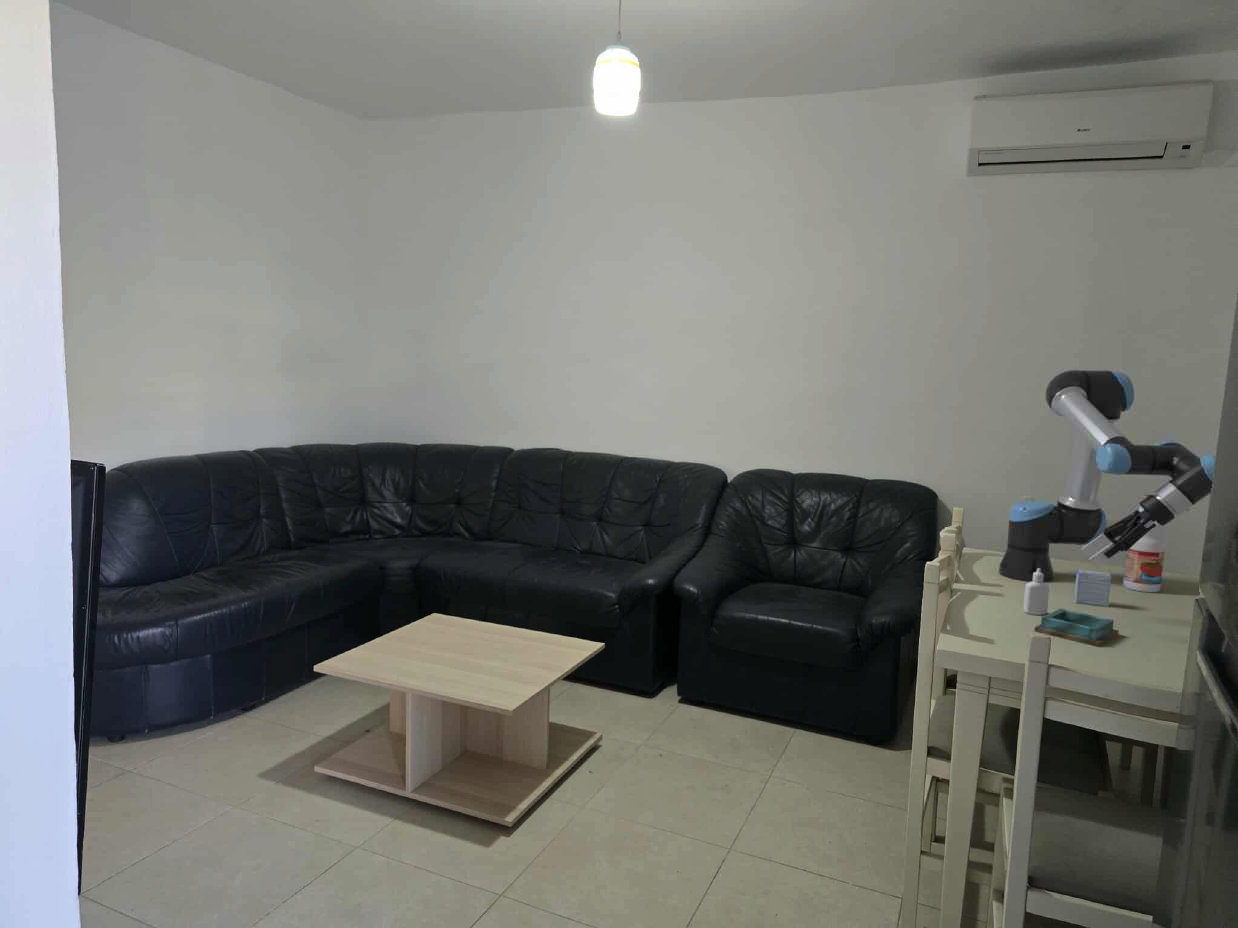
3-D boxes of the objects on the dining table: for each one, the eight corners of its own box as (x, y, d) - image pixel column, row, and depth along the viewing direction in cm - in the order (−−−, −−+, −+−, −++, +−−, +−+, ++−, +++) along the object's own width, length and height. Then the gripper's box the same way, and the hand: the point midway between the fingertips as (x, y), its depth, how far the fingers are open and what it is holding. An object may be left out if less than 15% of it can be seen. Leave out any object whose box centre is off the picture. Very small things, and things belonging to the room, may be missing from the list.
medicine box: (1106, 603, 221) (1109, 572, 220) (1108, 607, 217) (1111, 576, 216) (1073, 599, 224) (1076, 569, 223) (1075, 603, 220) (1078, 572, 219)
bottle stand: (1034, 630, 194) (1035, 617, 194) (1056, 620, 204) (1057, 606, 203) (1098, 646, 184) (1099, 631, 184) (1118, 634, 193) (1119, 620, 193)
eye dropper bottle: (1022, 609, 213) (1026, 565, 211) (1046, 612, 210) (1050, 568, 209) (1023, 613, 209) (1027, 568, 207) (1047, 616, 206) (1051, 571, 205)
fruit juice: (1136, 583, 243) (1145, 492, 240) (1167, 591, 235) (1177, 497, 232) (1115, 585, 240) (1124, 493, 237) (1146, 594, 231) (1156, 498, 228)
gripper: (1189, 524, 184) (1108, 580, 191) (1164, 509, 207) (1092, 559, 214) (1164, 499, 185) (1084, 556, 193) (1142, 487, 208) (1071, 538, 215)
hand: (1088, 558), depth 203 cm, fingers open, 13 cm apart
